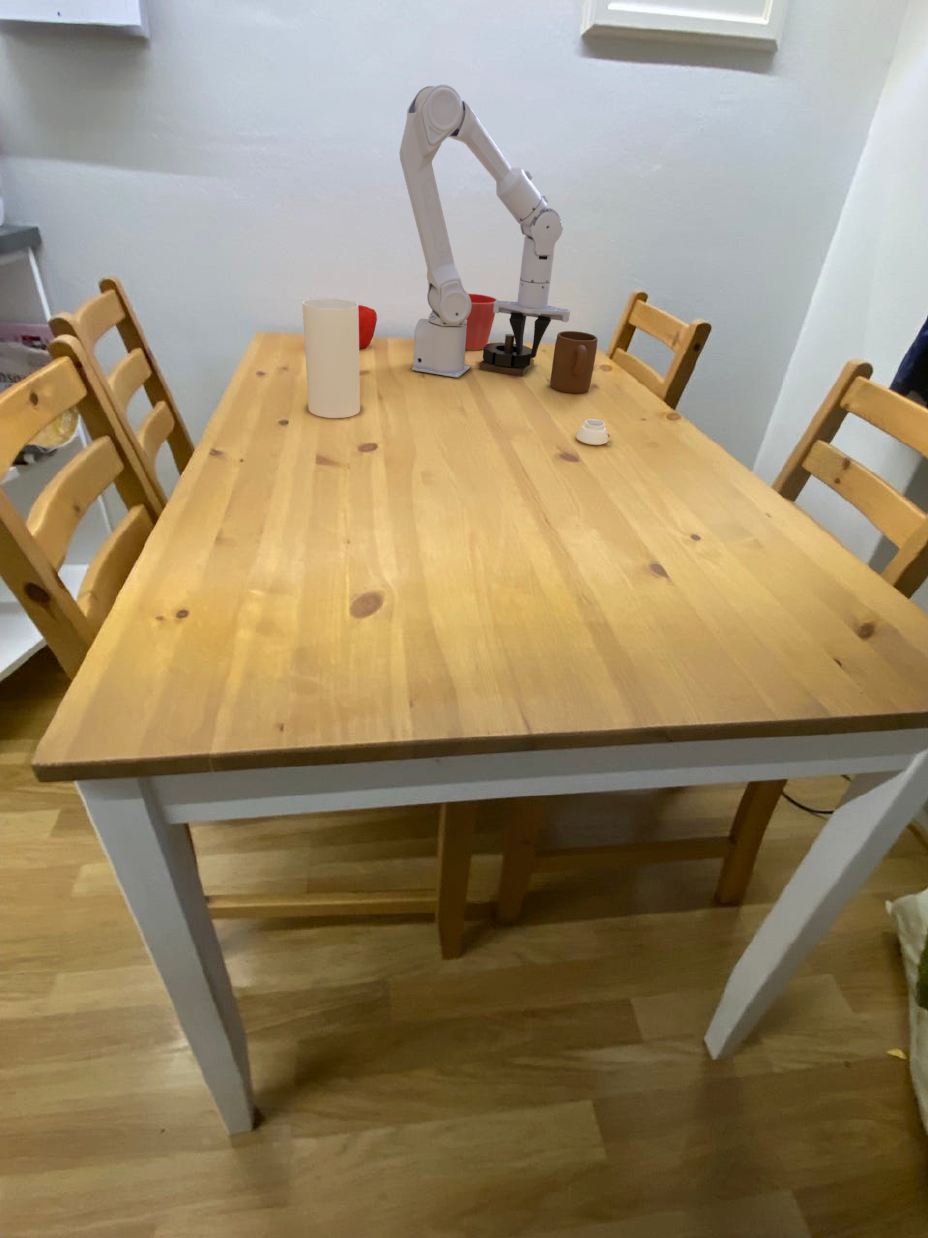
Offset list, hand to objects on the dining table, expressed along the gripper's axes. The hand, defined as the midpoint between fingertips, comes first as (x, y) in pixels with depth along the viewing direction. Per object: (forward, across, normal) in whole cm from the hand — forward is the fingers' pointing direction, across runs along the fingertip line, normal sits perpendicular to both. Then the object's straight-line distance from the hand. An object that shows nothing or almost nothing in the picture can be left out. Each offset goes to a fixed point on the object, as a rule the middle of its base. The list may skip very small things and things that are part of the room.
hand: (526, 355), depth 138 cm
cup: (+3, -24, -39) cm, 46 cm away
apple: (+3, -36, -1) cm, 36 cm away
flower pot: (+3, -15, +13) cm, 20 cm away
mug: (+3, +11, -10) cm, 15 cm away
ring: (+1, -4, 0) cm, 4 cm away
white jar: (+3, +17, -34) cm, 38 cm away
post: (+3, -4, 0) cm, 5 cm away
